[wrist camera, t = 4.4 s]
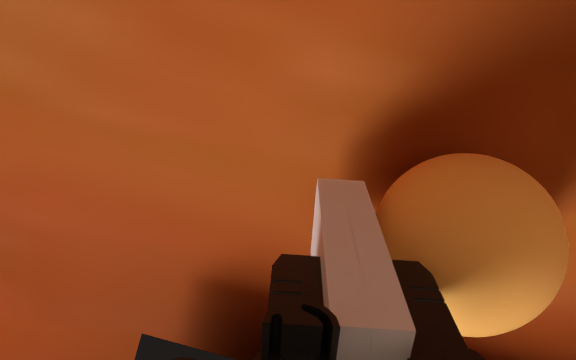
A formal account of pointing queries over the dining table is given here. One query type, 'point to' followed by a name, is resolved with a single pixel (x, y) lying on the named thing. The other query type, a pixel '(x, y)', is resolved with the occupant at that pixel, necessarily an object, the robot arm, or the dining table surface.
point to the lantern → (170, 350)
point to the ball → (479, 238)
